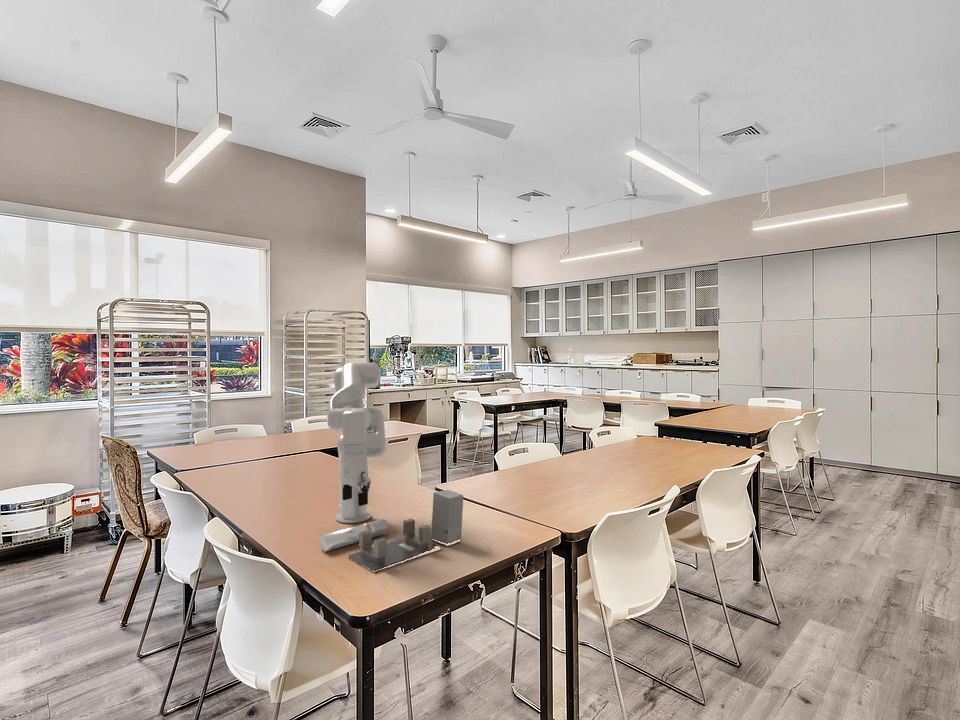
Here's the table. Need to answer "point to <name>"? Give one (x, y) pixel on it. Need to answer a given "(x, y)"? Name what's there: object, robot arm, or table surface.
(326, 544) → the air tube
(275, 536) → the table surface
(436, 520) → the skincare box
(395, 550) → the plate with corner blocks
